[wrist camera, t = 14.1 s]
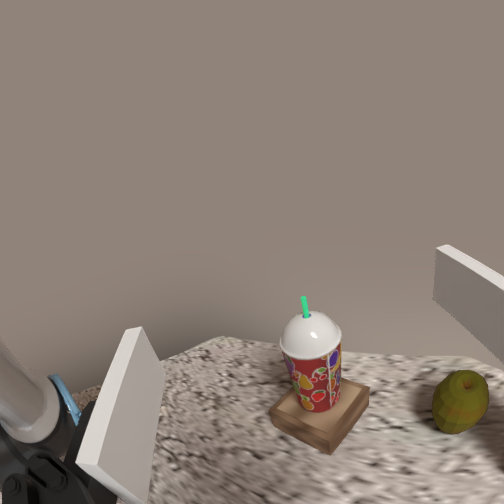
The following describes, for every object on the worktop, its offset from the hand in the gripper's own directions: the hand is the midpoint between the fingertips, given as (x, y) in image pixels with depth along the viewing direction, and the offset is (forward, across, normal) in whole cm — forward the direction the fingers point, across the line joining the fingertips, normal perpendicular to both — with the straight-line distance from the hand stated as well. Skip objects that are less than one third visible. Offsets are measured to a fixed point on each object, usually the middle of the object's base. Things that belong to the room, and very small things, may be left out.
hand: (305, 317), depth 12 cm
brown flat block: (+21, +4, -37) cm, 43 cm away
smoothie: (+21, +4, -32) cm, 39 cm away
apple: (+9, +24, -37) cm, 45 cm away
